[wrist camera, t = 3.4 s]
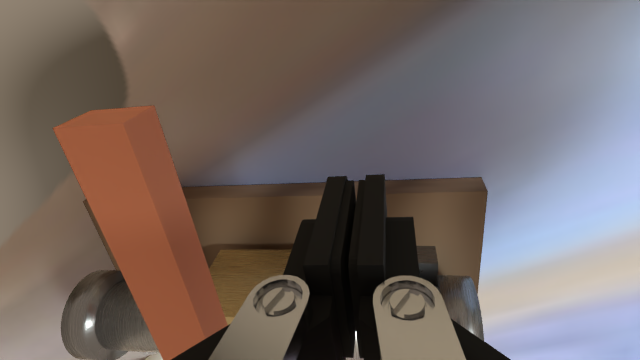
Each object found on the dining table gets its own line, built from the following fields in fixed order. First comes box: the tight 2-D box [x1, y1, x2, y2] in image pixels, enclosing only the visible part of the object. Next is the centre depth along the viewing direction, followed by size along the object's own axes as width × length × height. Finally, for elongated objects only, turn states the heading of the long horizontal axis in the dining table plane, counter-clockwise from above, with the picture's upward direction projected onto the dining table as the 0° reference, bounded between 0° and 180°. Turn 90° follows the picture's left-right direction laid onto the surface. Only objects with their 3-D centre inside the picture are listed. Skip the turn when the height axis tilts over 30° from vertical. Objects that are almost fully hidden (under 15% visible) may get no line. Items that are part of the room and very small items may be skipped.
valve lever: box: [53, 105, 228, 360], centre depth 13 cm, size 3×15×1 cm, turn 7°
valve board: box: [83, 177, 488, 293], centre depth 25 cm, size 24×12×2 cm, turn 97°
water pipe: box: [61, 246, 484, 360], centre depth 21 cm, size 22×6×8 cm, turn 97°
